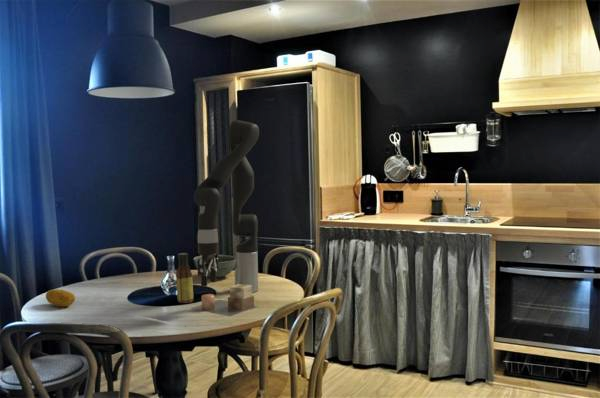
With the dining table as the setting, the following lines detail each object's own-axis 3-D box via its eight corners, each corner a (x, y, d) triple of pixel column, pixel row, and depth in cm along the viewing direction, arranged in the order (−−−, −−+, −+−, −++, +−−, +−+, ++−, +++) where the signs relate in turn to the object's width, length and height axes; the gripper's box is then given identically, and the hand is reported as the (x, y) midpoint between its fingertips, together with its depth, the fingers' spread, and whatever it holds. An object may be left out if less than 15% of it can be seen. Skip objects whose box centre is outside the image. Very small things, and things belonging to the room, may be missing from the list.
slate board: (190, 310, 217) (190, 308, 217) (219, 301, 230) (219, 299, 230) (229, 318, 205) (229, 316, 205) (258, 308, 218) (258, 306, 218)
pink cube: (199, 309, 215) (198, 295, 215) (208, 306, 219) (207, 293, 219) (208, 310, 213) (208, 297, 212) (217, 308, 217) (217, 295, 216)
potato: (61, 310, 218) (60, 293, 218) (42, 305, 226) (41, 288, 226) (79, 306, 224) (79, 289, 224) (60, 301, 233) (59, 285, 232)
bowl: (195, 274, 286) (194, 254, 286) (237, 273, 288) (237, 253, 288) (192, 283, 266) (191, 261, 265) (237, 281, 268) (237, 260, 267)
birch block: (230, 297, 216) (229, 287, 216) (238, 294, 222) (238, 284, 221) (243, 299, 214) (243, 288, 213) (251, 295, 219) (251, 285, 219)
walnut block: (228, 307, 217) (227, 297, 217) (240, 303, 223) (240, 293, 222) (242, 310, 213) (241, 299, 213) (254, 306, 219) (254, 295, 218)
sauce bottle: (196, 301, 230) (195, 252, 229) (188, 305, 224) (187, 255, 223) (182, 300, 232) (180, 252, 231) (173, 304, 226) (172, 254, 225)
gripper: (209, 243, 206) (210, 288, 207) (224, 238, 220) (225, 280, 221) (190, 243, 208) (191, 287, 209) (206, 238, 222) (207, 280, 223)
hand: (208, 284), depth 215 cm, fingers open, 8 cm apart
